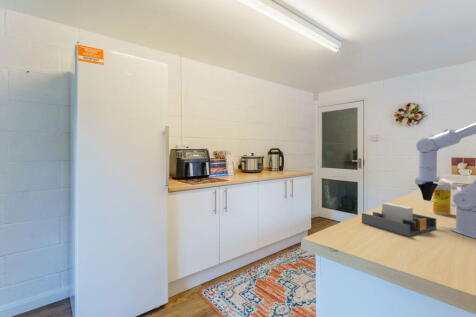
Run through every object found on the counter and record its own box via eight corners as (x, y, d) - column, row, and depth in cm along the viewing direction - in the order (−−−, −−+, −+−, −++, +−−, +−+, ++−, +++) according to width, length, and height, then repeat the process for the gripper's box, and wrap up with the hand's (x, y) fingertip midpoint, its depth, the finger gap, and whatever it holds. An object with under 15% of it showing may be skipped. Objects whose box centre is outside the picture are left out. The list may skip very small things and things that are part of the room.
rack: (436, 228, 90) (436, 216, 90) (408, 236, 82) (408, 222, 82) (388, 217, 106) (389, 206, 106) (361, 222, 99) (361, 210, 98)
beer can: (430, 213, 112) (430, 181, 111) (437, 211, 114) (437, 181, 114) (445, 216, 106) (446, 183, 106) (452, 214, 109) (453, 182, 108)
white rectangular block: (412, 225, 91) (412, 207, 90) (407, 226, 89) (408, 208, 89) (386, 219, 100) (386, 202, 99) (382, 220, 98) (382, 203, 98)
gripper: (425, 166, 104) (425, 196, 104) (407, 167, 97) (406, 200, 98) (445, 167, 98) (444, 199, 98) (427, 168, 91) (426, 203, 91)
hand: (427, 200), depth 97 cm, fingers closed
